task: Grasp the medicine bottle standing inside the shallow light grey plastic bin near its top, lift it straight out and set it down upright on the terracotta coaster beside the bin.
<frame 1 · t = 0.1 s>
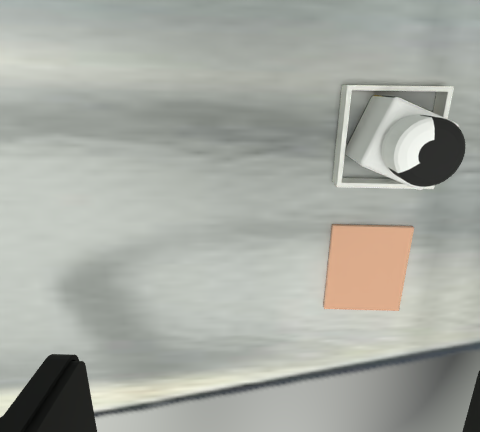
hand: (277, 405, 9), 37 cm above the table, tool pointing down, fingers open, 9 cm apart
coaster: (365, 267, 48), on the table
medicine bottle: (383, 136, 43), resting in parts bin
parts bin: (384, 136, 42), on the table
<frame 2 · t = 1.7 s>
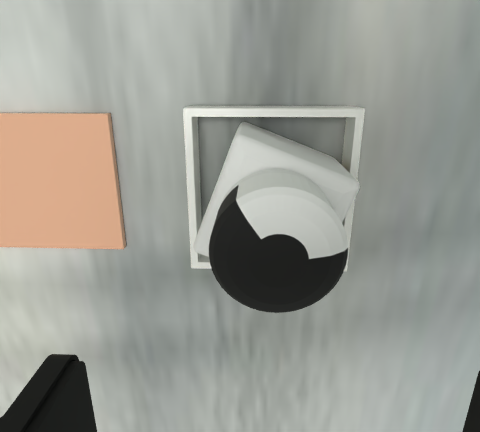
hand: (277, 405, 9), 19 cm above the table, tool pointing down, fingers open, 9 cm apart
coaster: (39, 182, 27), on the table
medicine bottle: (269, 184, 27), resting in parts bin
parts bin: (269, 185, 26), on the table
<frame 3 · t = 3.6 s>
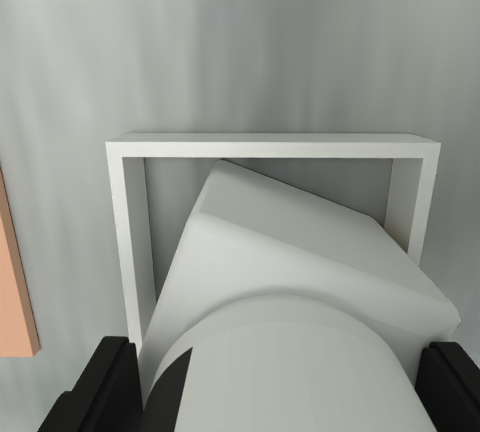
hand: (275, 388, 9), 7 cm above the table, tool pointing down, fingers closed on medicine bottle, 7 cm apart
medicine bottle: (265, 257, 16), resting in parts bin, touching gripper
parts bin: (264, 259, 16), on the table
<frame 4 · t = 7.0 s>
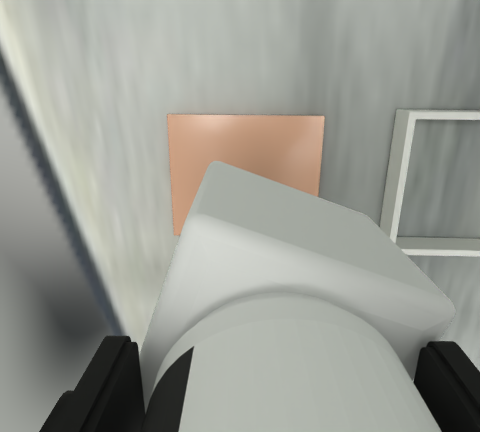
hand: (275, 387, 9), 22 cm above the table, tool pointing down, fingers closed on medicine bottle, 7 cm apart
coaster: (244, 177, 30), on the table
medicine bottle: (261, 257, 17), point 15 cm above the table, touching gripper
parts bin: (455, 180, 30), on the table
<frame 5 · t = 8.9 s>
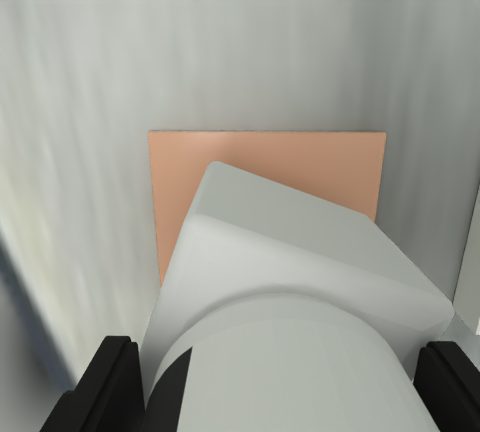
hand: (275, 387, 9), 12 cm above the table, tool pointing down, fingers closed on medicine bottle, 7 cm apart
coaster: (263, 221, 21), on the table
medicine bottle: (260, 257, 17), point 4 cm above the table, touching gripper
when the fingers open (9 cm above the table, at t = 10.5 s): medicine bottle stays where it is, resting on coaster.
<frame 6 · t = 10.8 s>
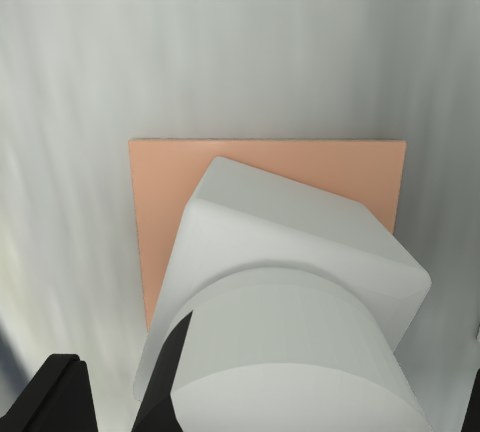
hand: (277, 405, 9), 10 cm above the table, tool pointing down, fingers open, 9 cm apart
coaster: (263, 242, 18), on the table
medicine bottle: (264, 245, 18), resting on coaster
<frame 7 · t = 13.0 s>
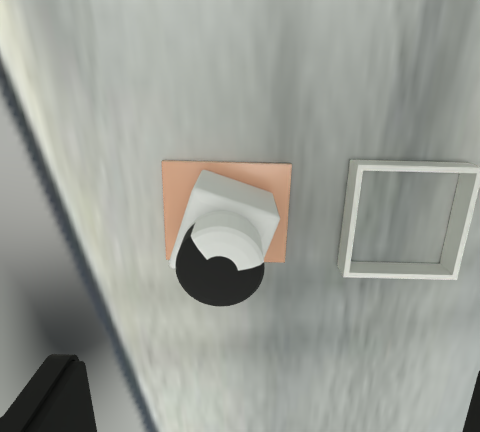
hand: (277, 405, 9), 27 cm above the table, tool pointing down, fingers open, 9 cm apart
coaster: (226, 212, 36), on the table
medicine bottle: (226, 213, 36), resting on coaster
parts bin: (399, 216, 36), on the table
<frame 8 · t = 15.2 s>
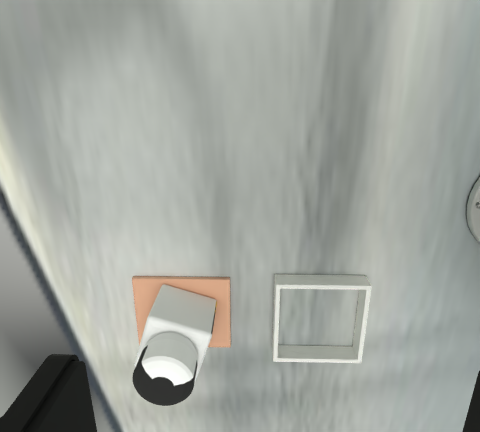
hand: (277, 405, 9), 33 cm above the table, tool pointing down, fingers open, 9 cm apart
coaster: (183, 311, 47), on the table
medicine bottle: (183, 313, 47), resting on coaster
parts bin: (316, 313, 47), on the table
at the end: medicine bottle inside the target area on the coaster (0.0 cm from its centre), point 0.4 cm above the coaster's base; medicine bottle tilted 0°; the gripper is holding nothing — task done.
